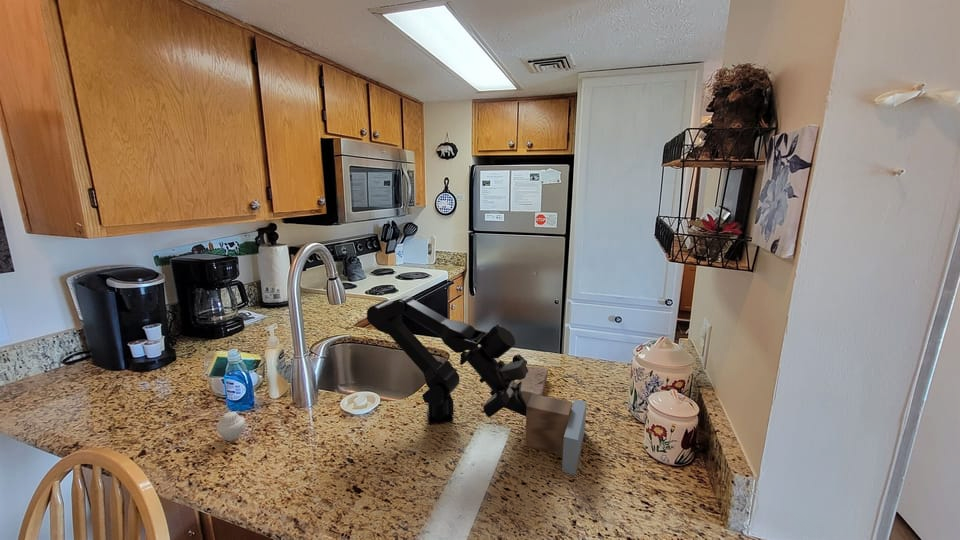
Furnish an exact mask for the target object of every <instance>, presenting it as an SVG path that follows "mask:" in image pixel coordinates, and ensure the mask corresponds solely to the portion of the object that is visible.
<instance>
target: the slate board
mask: <svg viewBox="0 0 960 540" xmlns="http://www.w3.org/2000/svg"><path fill="white" fill-rule="evenodd" d="M573 400H574V401H573V403H572V409H571V414H570V417H569V421H568V424H567V428H566V431H565V435H564V444H563V455H562V462H561V472H563V473H565V474H570V475H574V476H576V474H577V470H578V465H579V460H580V456H581V451H582V446H583V442H584V437H585V431H586V417H587V416H586V414H587V404H588V402H587V401H585V400H579V399H573Z"/></svg>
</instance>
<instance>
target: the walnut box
mask: <svg viewBox="0 0 960 540" xmlns="http://www.w3.org/2000/svg"><path fill="white" fill-rule="evenodd" d="M572 407H573V402H572V401H571V400H566V399H565V400H564V399H561V398H555V397H550V396H546V395H545V396H544V395H543V396H541V395H536V394H532V395H531V398H530V400H529V402H528V404H527V405H526V417H525V439H524V440H525V445H524V446H525V447H529V448H532V449H536V450H540V451H544V452H548V453H551V454H556V455H561V456H563V444H564V435H565V431H566V428H567V424H568V421H569V417H570V414H571V411H572Z"/></svg>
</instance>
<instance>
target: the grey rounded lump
mask: <svg viewBox="0 0 960 540" xmlns="http://www.w3.org/2000/svg"><path fill="white" fill-rule="evenodd" d="M245 425H246V419H245V417H243V416H241V415H239V414H238V413H237V412H236V411H229V412H227V413H225V414H224V415H222V417H221V419H220V422H219V423H218V424H217V426H216V433H218V435H219V436H220V437H222V438H223V439H224V440H225V441H226V442H231V441H235V440H237V439H239V438H240V437H241V434H242V433H243V431H244V428H245Z"/></svg>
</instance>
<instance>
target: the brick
mask: <svg viewBox="0 0 960 540" xmlns="http://www.w3.org/2000/svg"><path fill="white" fill-rule="evenodd" d="M527 368H528V373H527V374H526V377H525V378H524V379H522V380H516V383H517V384H518V383H519V382H522V384H521V394H522V396H523V399H524V401H525V403H526V406H527V404H528V402H529V400H530V398H531V395H532V394H536V395H541V396H544V392H545V388H546V385H547V379H548V375H549V374H548V373H549V369H547V368H546V367H542V366H541V367H539V366H527Z"/></svg>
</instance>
